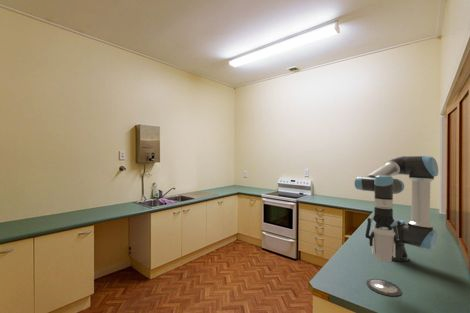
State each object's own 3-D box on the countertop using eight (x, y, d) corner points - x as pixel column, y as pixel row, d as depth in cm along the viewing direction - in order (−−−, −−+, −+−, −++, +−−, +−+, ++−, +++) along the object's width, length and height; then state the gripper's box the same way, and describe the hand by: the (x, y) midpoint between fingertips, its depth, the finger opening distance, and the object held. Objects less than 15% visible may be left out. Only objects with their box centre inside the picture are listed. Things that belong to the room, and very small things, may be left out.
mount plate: (365, 277, 119) (365, 275, 119) (397, 284, 113) (397, 282, 113) (368, 291, 106) (368, 289, 106) (404, 299, 100) (404, 297, 100)
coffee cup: (386, 254, 114) (386, 225, 115) (400, 263, 105) (400, 231, 105) (367, 254, 114) (367, 225, 114) (380, 263, 105) (380, 231, 105)
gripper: (359, 206, 111) (359, 253, 111) (411, 211, 102) (411, 261, 102) (358, 204, 118) (358, 248, 117) (407, 208, 109) (407, 255, 109)
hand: (383, 254), depth 110 cm, fingers closed on coffee cup, 8 cm apart
